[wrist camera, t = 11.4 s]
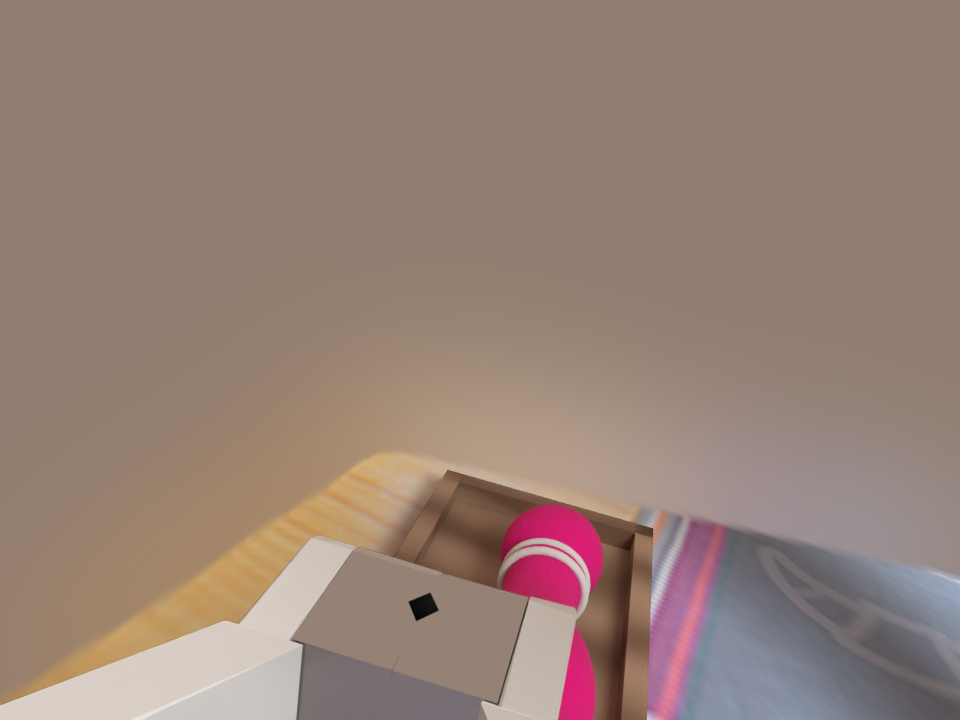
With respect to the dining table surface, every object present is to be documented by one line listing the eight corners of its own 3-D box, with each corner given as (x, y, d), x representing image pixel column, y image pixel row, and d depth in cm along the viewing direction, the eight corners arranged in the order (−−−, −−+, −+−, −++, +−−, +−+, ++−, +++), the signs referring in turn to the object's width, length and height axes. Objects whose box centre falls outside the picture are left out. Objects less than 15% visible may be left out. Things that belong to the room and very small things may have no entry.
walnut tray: (441, 499, 55) (447, 469, 54) (643, 558, 52) (653, 528, 51) (298, 744, 33) (304, 702, 33) (627, 863, 31) (643, 821, 30)
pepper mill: (400, 671, 29) (505, 465, 47) (407, 820, 31) (506, 565, 49) (588, 701, 27) (621, 475, 46) (583, 856, 29) (616, 579, 48)
